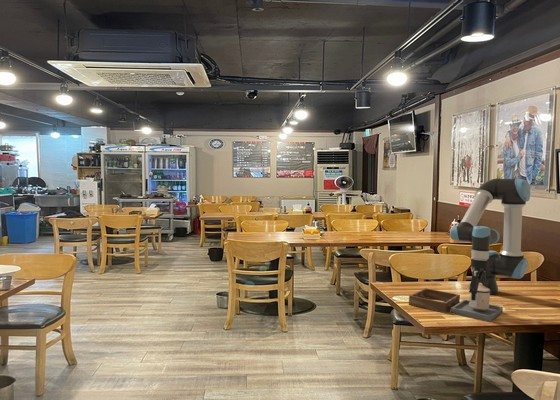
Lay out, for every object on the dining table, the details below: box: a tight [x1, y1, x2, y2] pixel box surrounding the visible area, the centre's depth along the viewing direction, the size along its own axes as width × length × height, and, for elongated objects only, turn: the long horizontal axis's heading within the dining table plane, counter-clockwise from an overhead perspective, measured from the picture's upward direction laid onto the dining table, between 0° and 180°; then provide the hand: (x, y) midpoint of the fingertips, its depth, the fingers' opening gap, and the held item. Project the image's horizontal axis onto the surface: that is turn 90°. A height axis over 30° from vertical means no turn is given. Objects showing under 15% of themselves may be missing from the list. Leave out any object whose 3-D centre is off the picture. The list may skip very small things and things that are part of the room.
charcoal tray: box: [450, 299, 504, 323], centre depth 205 cm, size 20×18×2 cm
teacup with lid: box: [468, 283, 491, 310], centre depth 204 cm, size 12×9×12 cm
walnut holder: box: [408, 287, 461, 314], centre depth 217 cm, size 21×18×4 cm
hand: (477, 304), depth 205 cm, fingers closed on teacup with lid, 11 cm apart
